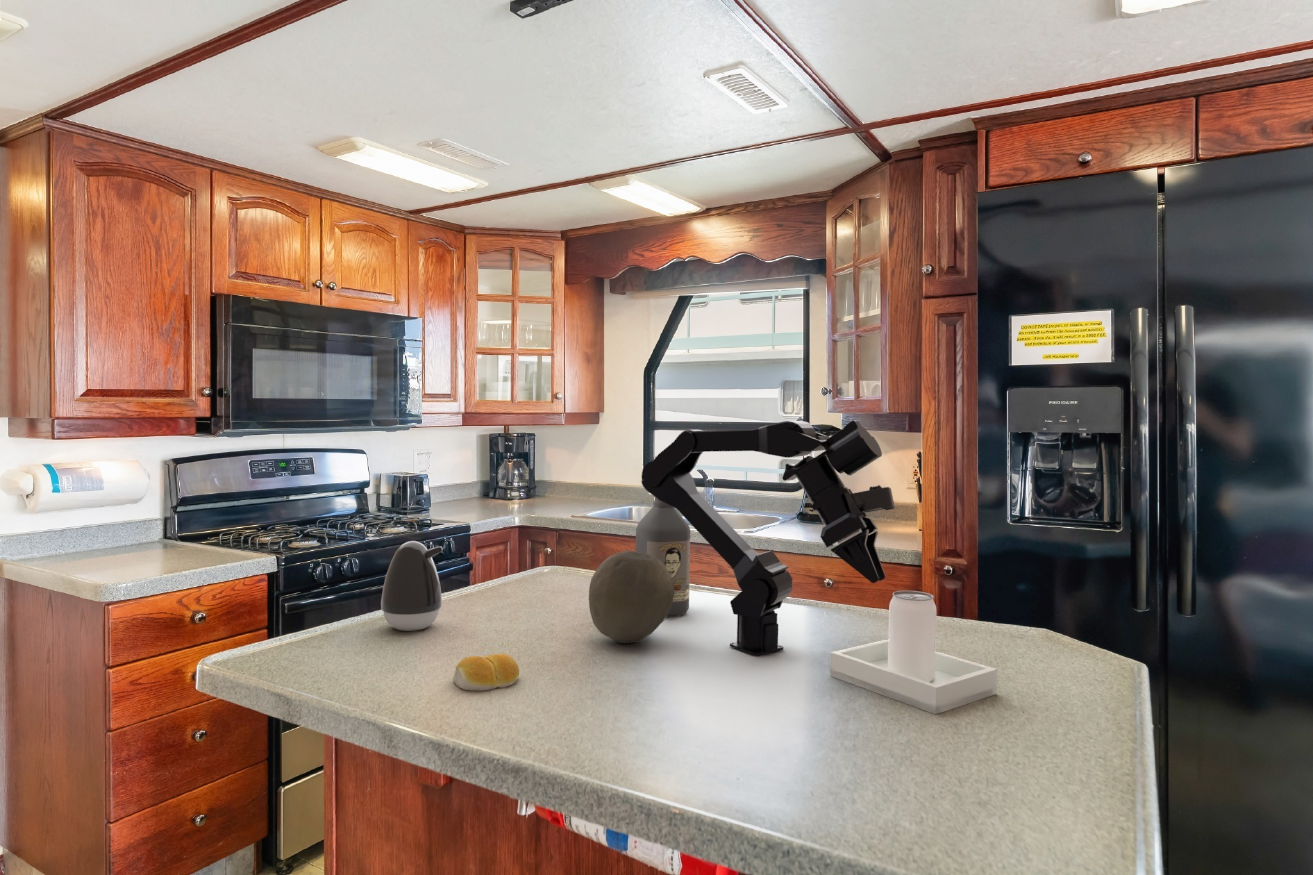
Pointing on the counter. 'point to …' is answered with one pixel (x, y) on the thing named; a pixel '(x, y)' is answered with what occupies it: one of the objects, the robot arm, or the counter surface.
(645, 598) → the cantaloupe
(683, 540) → the liquor
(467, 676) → the bread roll
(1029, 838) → the counter surface
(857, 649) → the tray
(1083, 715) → the counter surface
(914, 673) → the can
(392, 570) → the pump dispenser
